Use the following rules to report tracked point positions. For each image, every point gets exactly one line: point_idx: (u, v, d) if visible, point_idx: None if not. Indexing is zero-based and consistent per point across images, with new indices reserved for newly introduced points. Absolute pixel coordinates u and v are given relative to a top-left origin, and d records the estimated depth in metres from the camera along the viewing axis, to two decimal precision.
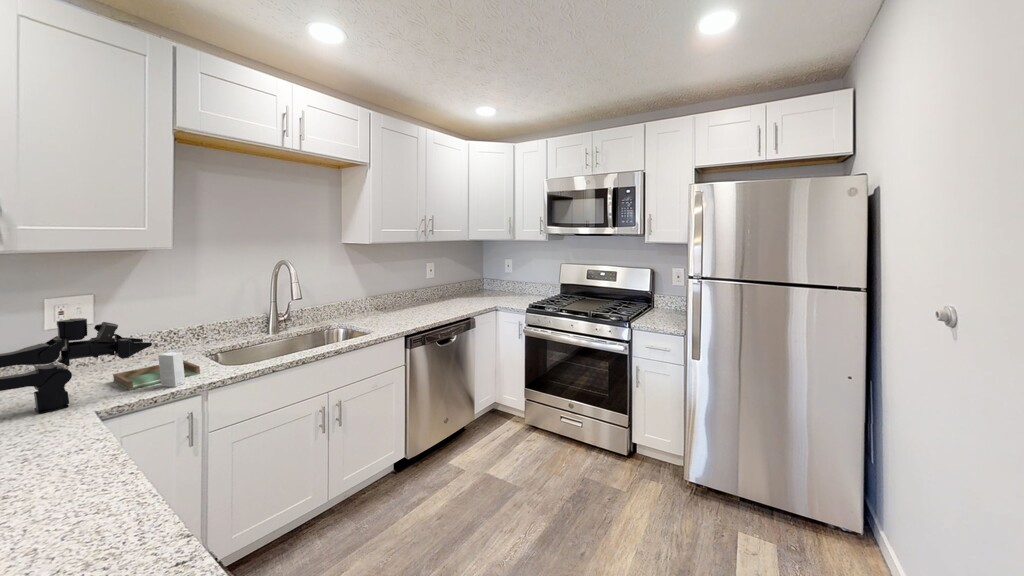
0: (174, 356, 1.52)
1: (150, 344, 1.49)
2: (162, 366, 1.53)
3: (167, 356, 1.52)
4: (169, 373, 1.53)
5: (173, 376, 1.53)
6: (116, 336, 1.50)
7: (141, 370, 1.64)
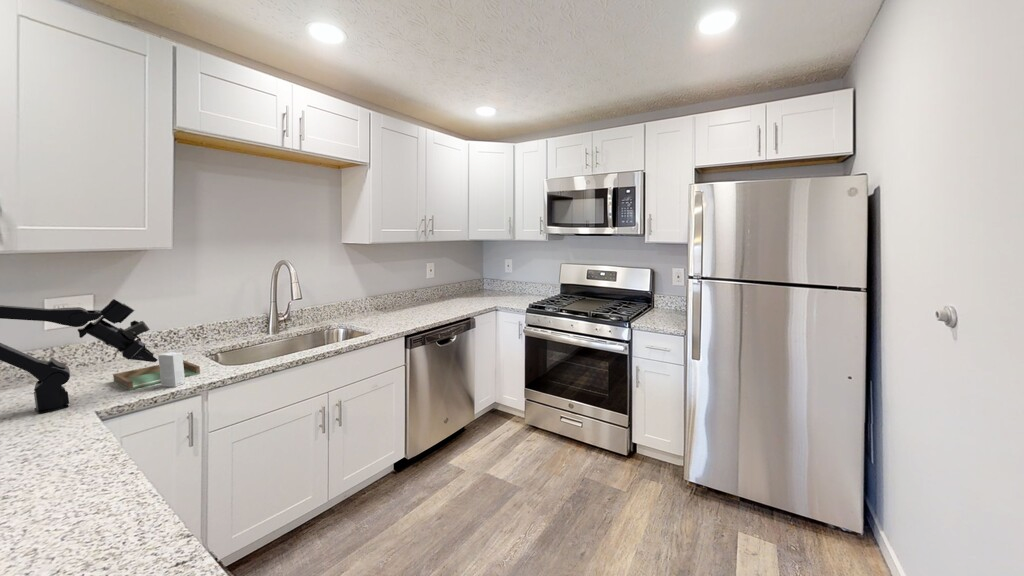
0: (174, 356, 1.52)
1: (154, 360, 1.47)
2: (162, 366, 1.53)
3: (167, 356, 1.52)
4: (169, 373, 1.53)
5: (173, 376, 1.53)
6: (138, 339, 1.52)
7: (141, 370, 1.64)
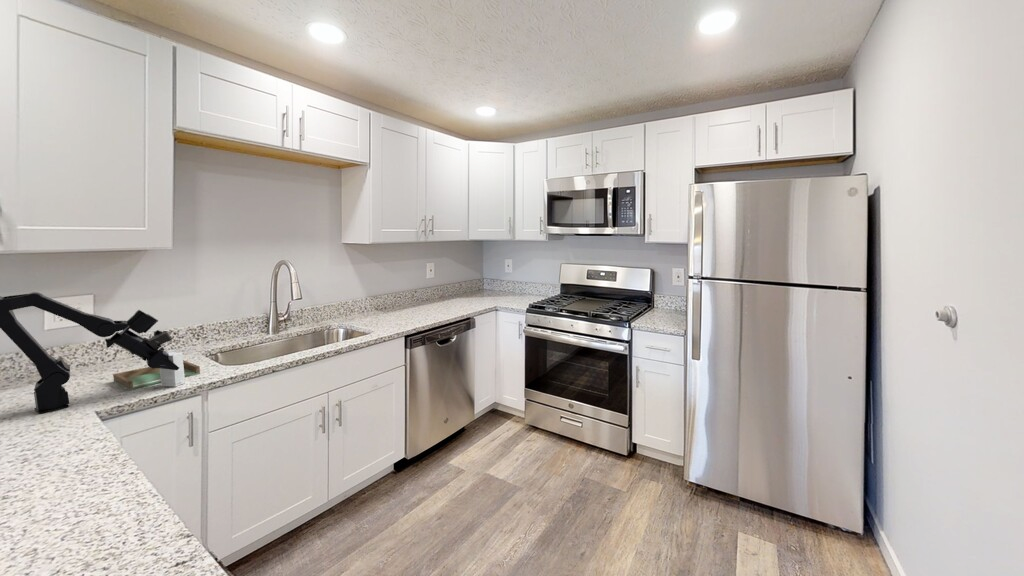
0: (174, 356, 1.52)
1: (177, 368, 1.53)
2: None
3: None
4: (169, 373, 1.53)
5: (173, 376, 1.53)
6: (161, 349, 1.56)
7: (141, 370, 1.64)
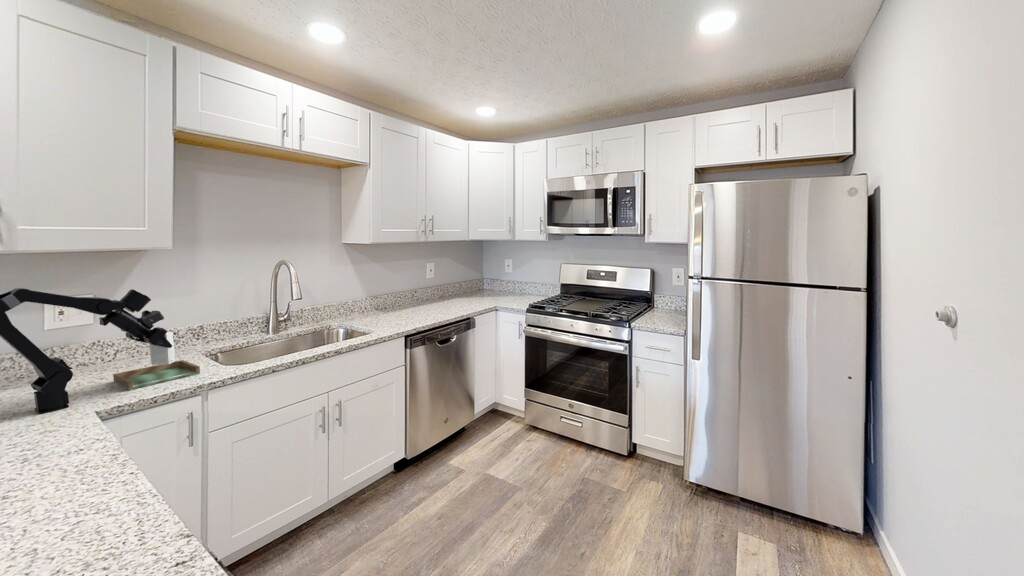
0: (167, 334, 1.58)
1: (170, 346, 1.58)
2: (153, 345, 1.56)
3: None
4: (162, 351, 1.57)
5: (167, 354, 1.58)
6: None
7: (141, 370, 1.64)
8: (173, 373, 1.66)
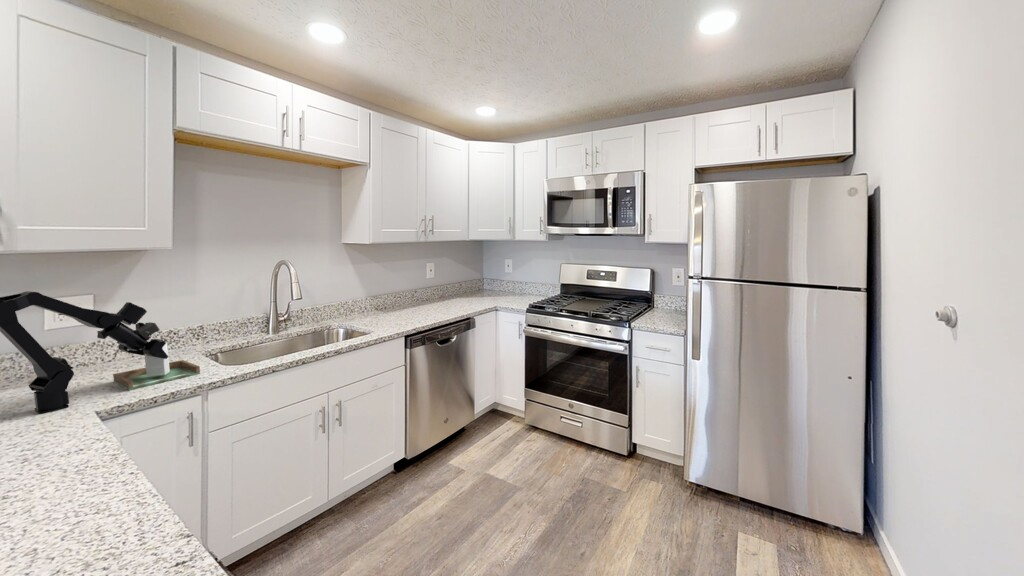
0: None
1: (166, 357, 1.61)
2: (148, 356, 1.59)
3: None
4: (157, 362, 1.60)
5: (163, 365, 1.60)
6: None
7: (141, 370, 1.64)
8: (173, 373, 1.66)
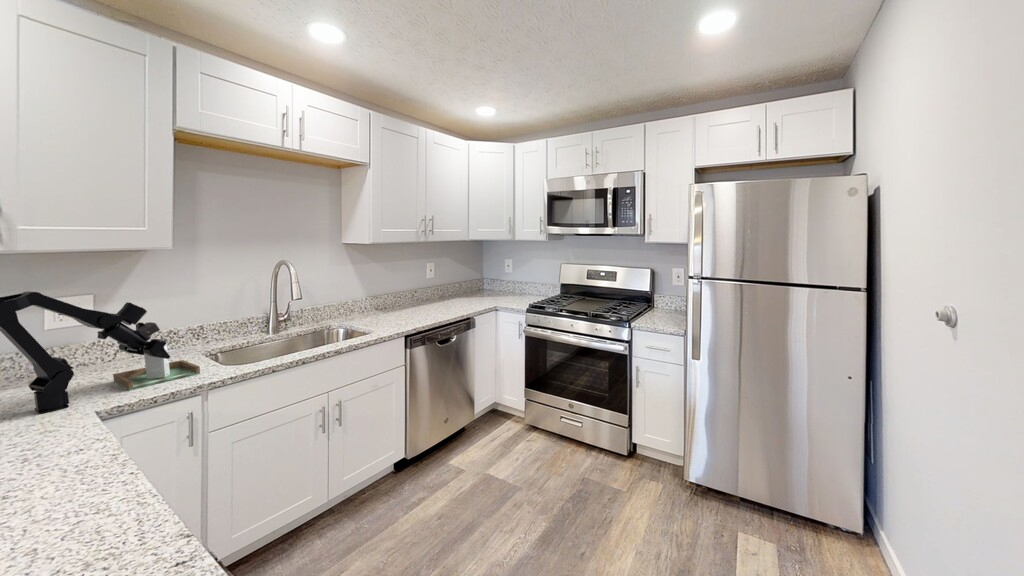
0: None
1: (168, 357, 1.61)
2: (148, 359, 1.59)
3: None
4: (158, 365, 1.60)
5: (163, 368, 1.60)
6: None
7: (141, 370, 1.64)
8: (173, 373, 1.66)
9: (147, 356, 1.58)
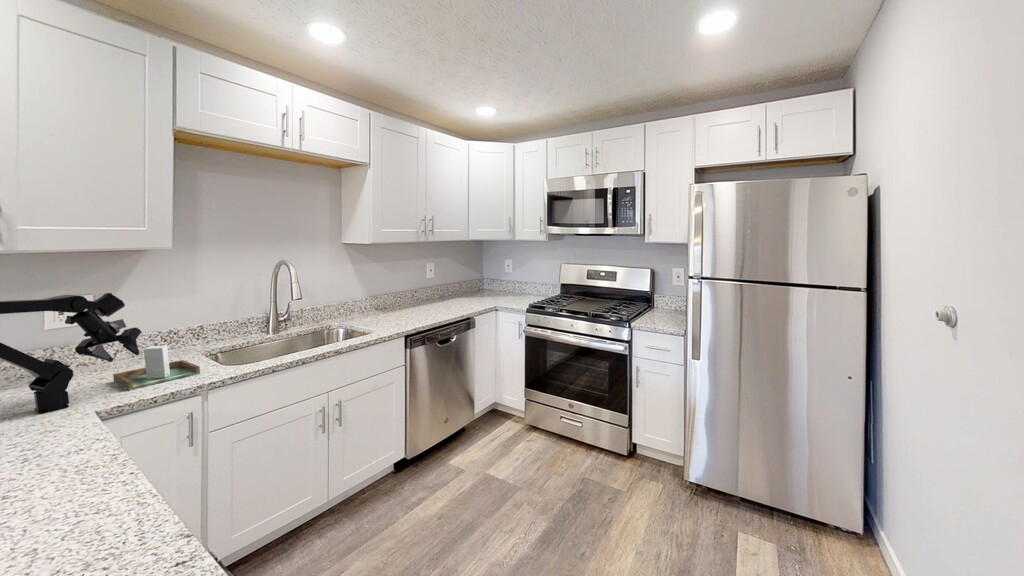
0: (163, 348, 1.60)
1: (138, 353, 1.51)
2: (149, 359, 1.59)
3: (155, 349, 1.59)
4: (158, 365, 1.60)
5: (163, 368, 1.60)
6: None
7: (141, 370, 1.64)
8: (173, 373, 1.66)
9: (147, 356, 1.58)
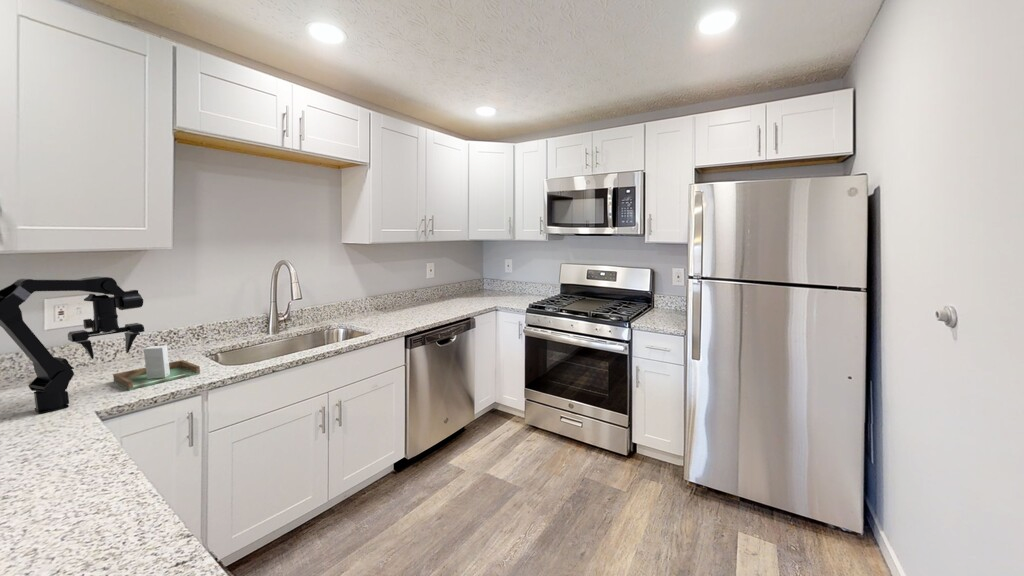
0: (163, 348, 1.60)
1: None
2: (149, 359, 1.59)
3: (155, 349, 1.59)
4: (158, 365, 1.60)
5: (163, 368, 1.60)
6: None
7: (141, 370, 1.64)
8: (173, 373, 1.66)
9: (147, 356, 1.58)
